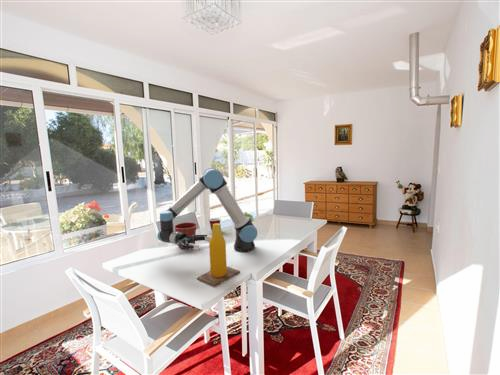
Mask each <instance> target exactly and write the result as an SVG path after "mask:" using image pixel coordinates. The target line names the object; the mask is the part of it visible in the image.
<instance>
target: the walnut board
mask: <svg viewBox="0 0 500 375" xmlns="http://www.w3.org/2000/svg"><path fill="white" fill-rule="evenodd" d="M240 273H241V270H239V269H237V268H233V267H230V266H227V274H226V275H225V276H223V277H219V278H216V277H213V276H211V273H210V270H209V271H207V272H205V273H203V274H201V275H199V276H196V279H197V281H200V282H201V283H204V284H206V283H207V284H206V285H209V286H211V287H213V286H214V287H213V288H216V287H218V286H219V285H221V284H222V282H223V283H225V282H226V281H228V280H230V279H231V278H232V279H233V277H235V276H237V275H239V274H240ZM224 281H225V282H224ZM217 285H218V286H217ZM215 286H216V287H215Z"/></svg>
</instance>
